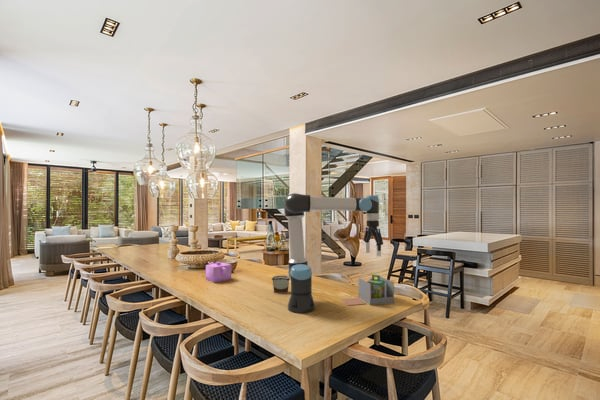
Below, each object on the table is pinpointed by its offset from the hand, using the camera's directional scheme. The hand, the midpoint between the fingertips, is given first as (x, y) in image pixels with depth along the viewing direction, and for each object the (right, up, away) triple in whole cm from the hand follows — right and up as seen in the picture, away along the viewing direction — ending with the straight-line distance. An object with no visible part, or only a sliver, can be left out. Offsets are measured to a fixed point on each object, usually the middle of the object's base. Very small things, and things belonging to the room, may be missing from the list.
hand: (372, 254), depth 185 cm
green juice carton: (0, -27, -5) cm, 27 cm away
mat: (-14, -27, -8) cm, 31 cm away
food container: (-58, -28, +15) cm, 66 cm away
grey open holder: (0, -27, -5) cm, 27 cm away
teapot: (-110, -29, +50) cm, 124 cm away
